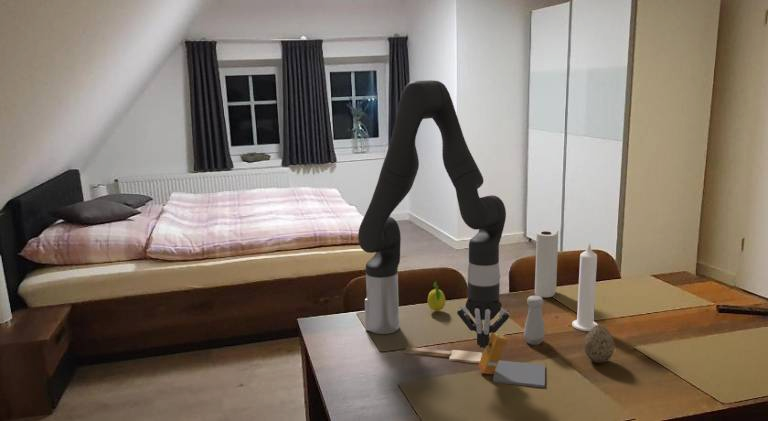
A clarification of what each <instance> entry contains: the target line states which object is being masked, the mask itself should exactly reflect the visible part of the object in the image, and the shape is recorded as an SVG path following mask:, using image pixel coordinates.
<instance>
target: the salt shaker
mask: <svg viewBox="0 0 768 421" xmlns="http://www.w3.org/2000/svg"><path fill="white" fill-rule="evenodd" d="M526 299H527V300H526V305H527V306H528V312H527V316H526V320H525V325H524V327H523V328H524V329H523V337H524V340H525V342H526V343H527V344H530V345H531V346H533V345H536V346H537V345H540V344H542V343H543V341H544V339H545V337H546V332H545V325H544V319H543V313H542V312H543V311H542V307H543V306H544V298H543V297H540V296H537V295H530V296H528V298H526Z"/></svg>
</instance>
